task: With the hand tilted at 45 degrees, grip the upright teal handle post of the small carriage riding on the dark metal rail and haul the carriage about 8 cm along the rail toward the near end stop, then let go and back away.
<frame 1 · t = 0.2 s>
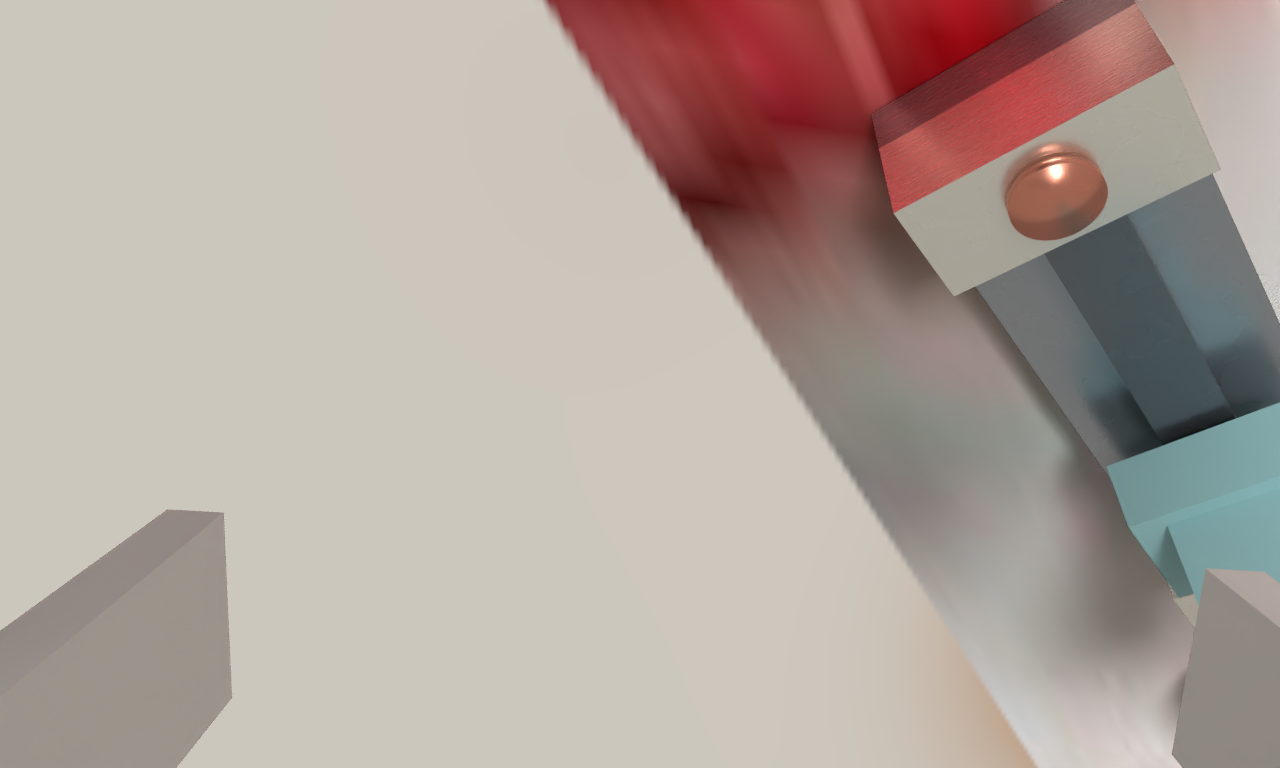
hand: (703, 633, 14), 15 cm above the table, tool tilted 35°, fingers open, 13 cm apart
rail: (1146, 327, 30), on the table
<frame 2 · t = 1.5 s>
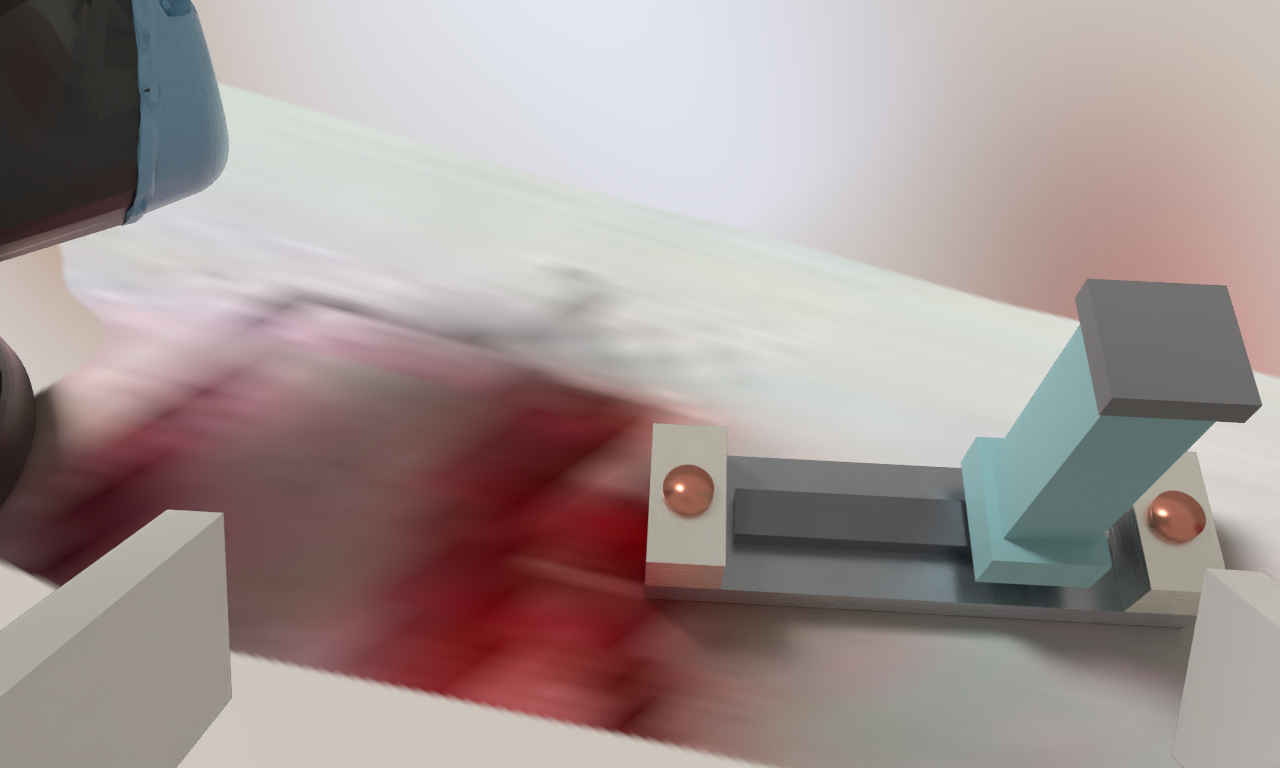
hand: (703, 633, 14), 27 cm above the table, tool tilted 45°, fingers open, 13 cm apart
carriage: (1085, 445, 36), point 9 cm above the table, slide at 0.0 cm
rail: (906, 544, 44), on the table
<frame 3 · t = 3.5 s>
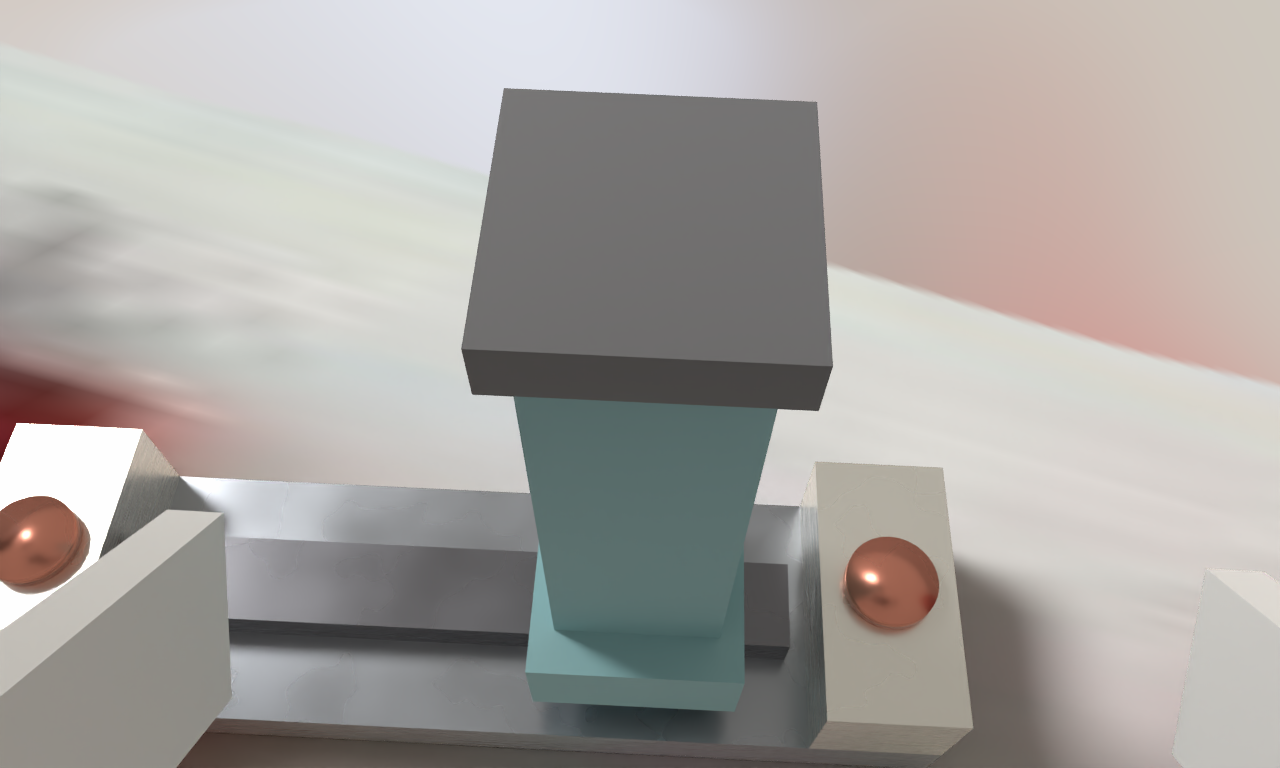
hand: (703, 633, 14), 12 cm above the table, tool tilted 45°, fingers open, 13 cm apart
carriage: (644, 461, 19), point 9 cm above the table, slide at 0.0 cm
rail: (480, 623, 27), on the table
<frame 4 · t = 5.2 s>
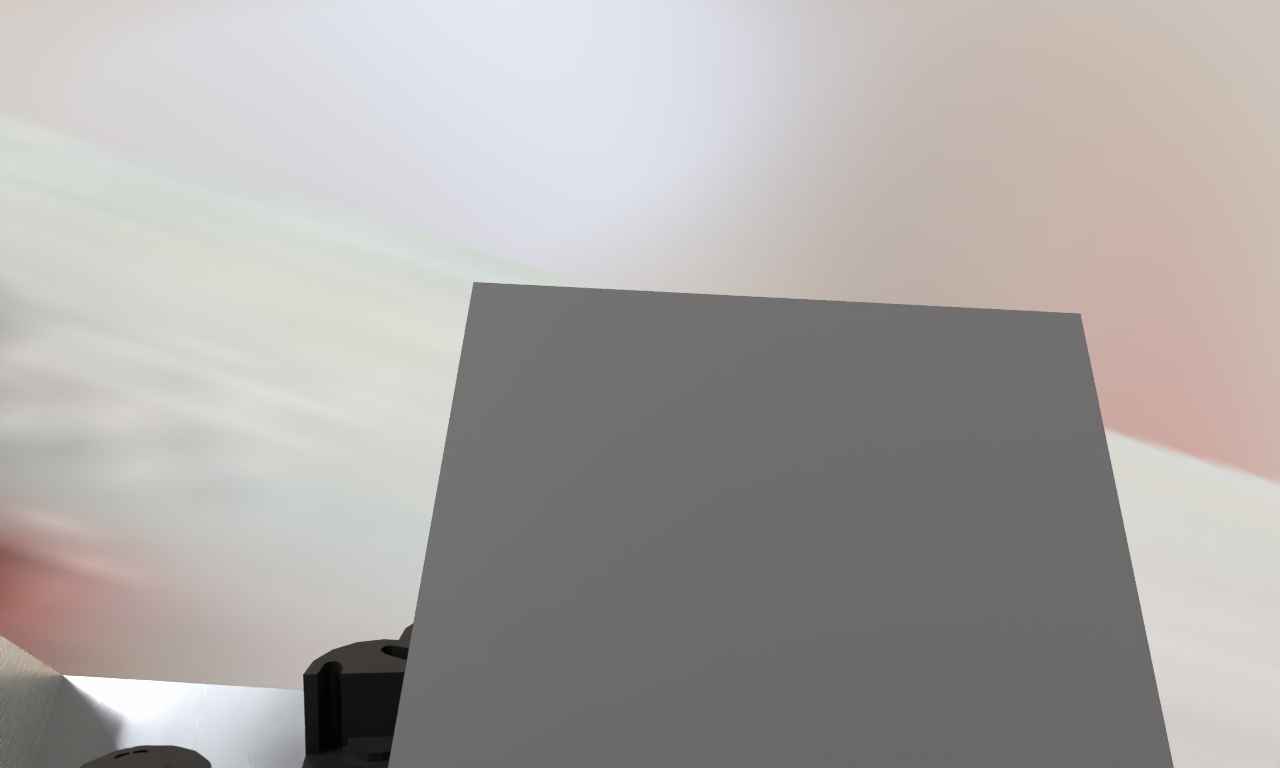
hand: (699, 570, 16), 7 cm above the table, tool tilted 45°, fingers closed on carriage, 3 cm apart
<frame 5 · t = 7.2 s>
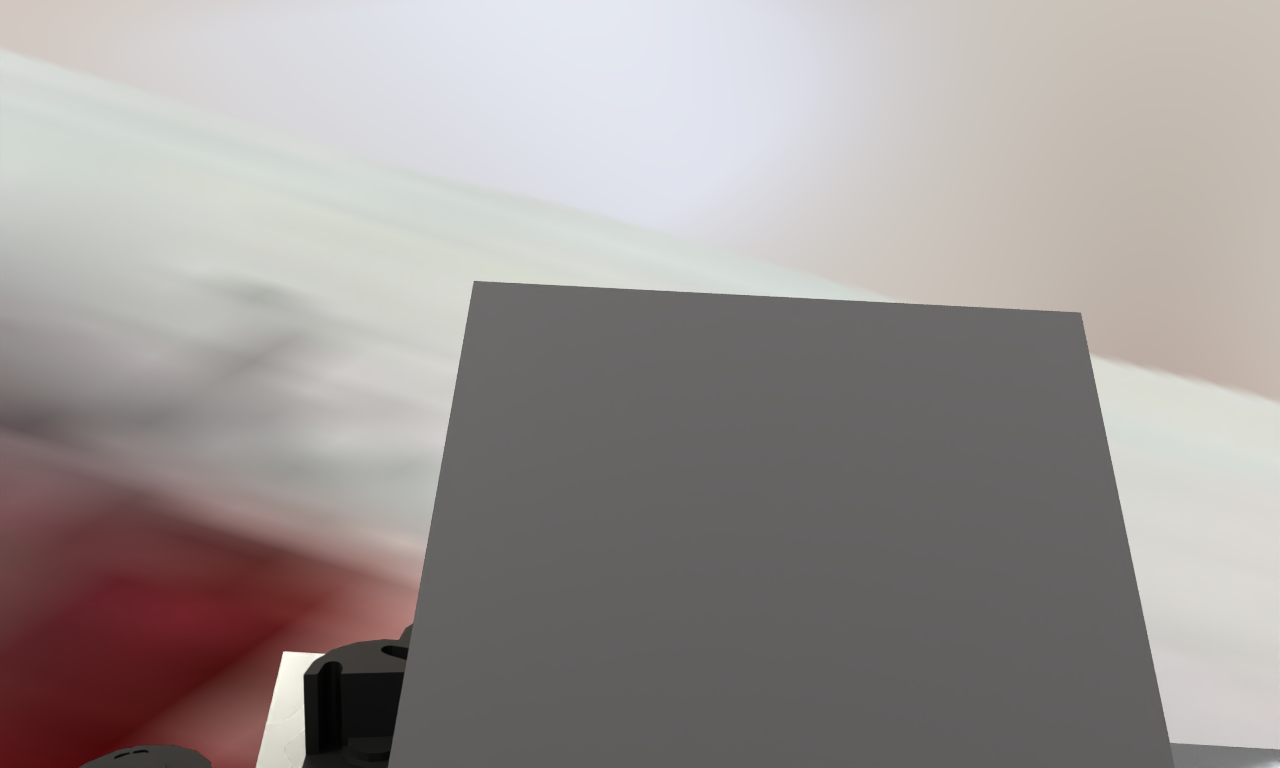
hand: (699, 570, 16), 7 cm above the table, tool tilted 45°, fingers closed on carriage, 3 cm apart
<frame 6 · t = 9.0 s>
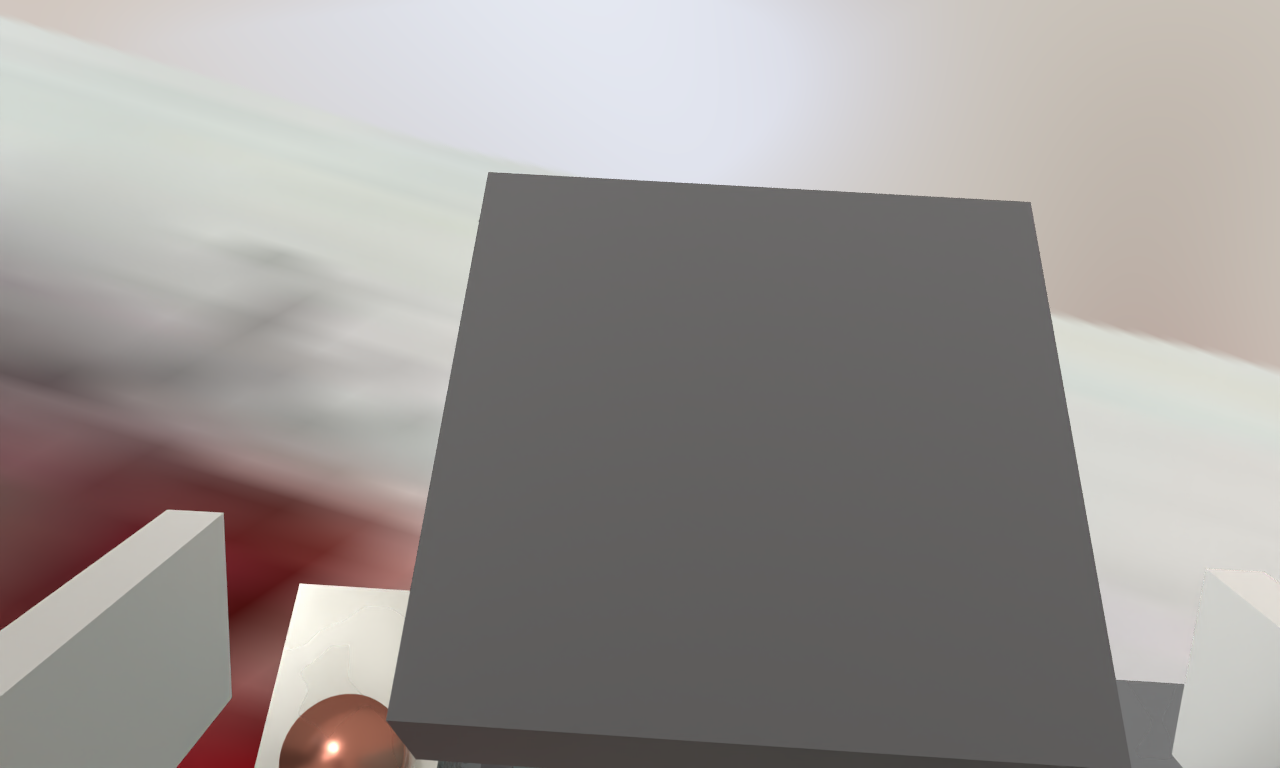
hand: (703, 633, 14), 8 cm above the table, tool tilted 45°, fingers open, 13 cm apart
carriage: (698, 693, 13), point 9 cm above the table, slide at 8.0 cm
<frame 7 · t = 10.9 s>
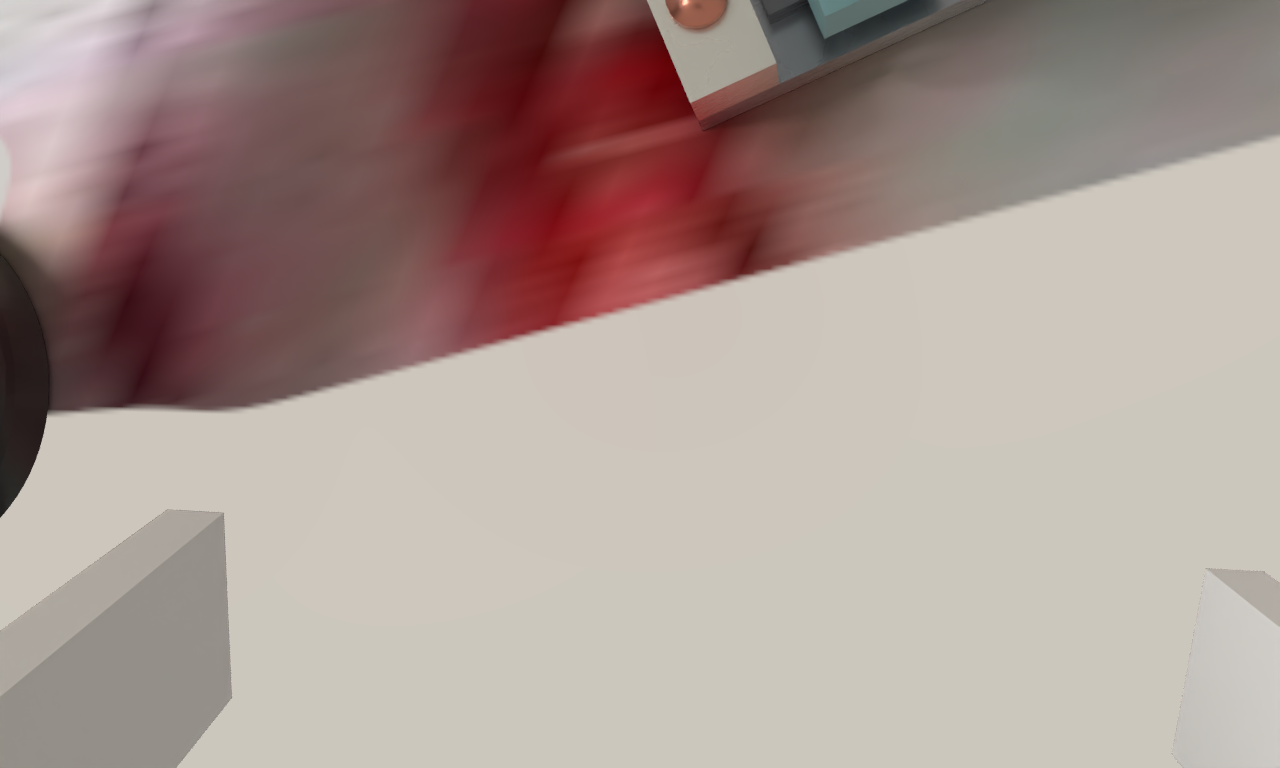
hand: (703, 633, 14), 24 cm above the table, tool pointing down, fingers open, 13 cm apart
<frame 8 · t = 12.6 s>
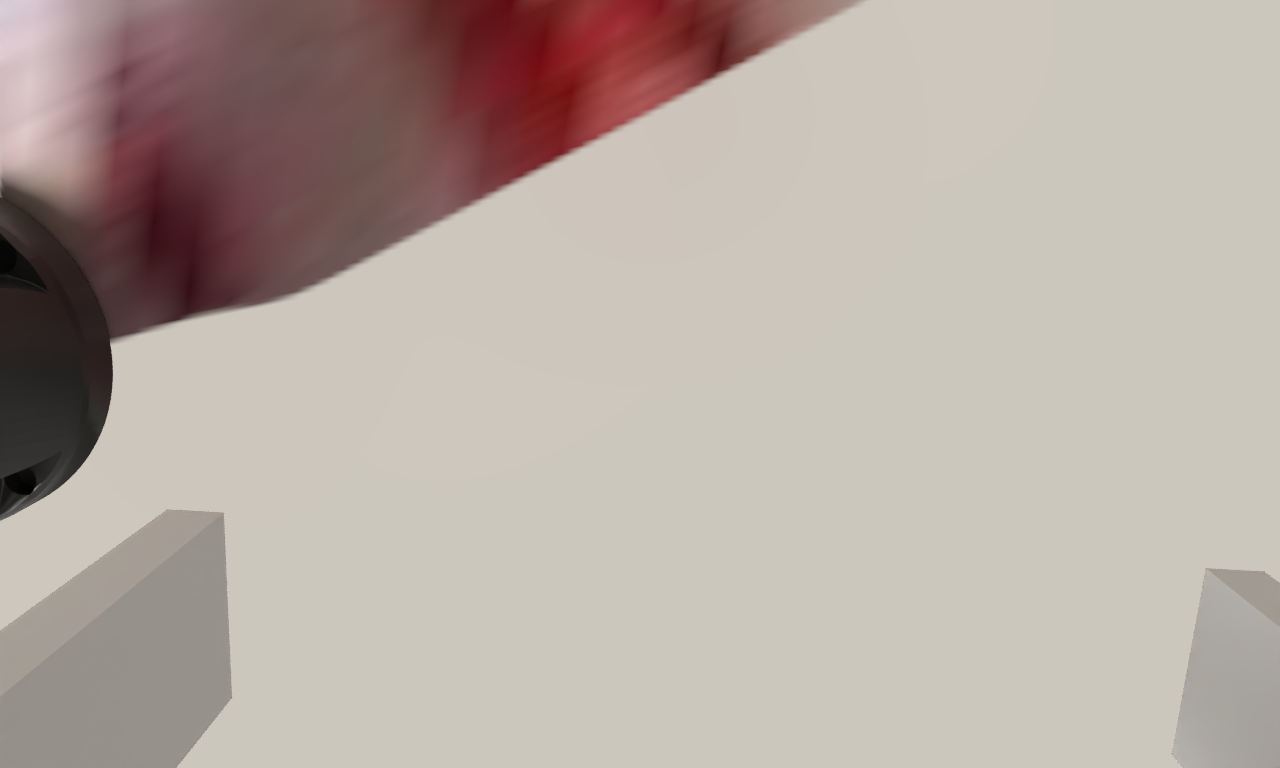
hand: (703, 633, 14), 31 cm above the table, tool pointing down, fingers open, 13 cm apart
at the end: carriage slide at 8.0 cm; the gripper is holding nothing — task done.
